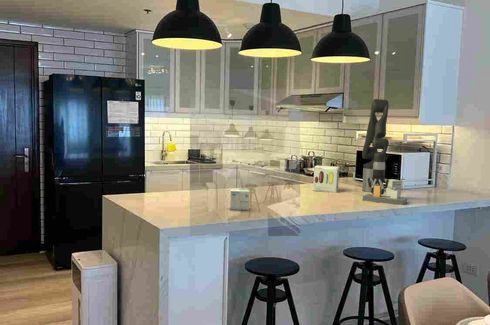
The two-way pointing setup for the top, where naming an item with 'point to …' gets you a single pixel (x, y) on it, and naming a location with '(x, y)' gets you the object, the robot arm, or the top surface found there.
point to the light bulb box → (239, 199)
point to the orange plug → (377, 190)
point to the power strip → (387, 198)
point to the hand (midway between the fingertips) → (377, 194)
